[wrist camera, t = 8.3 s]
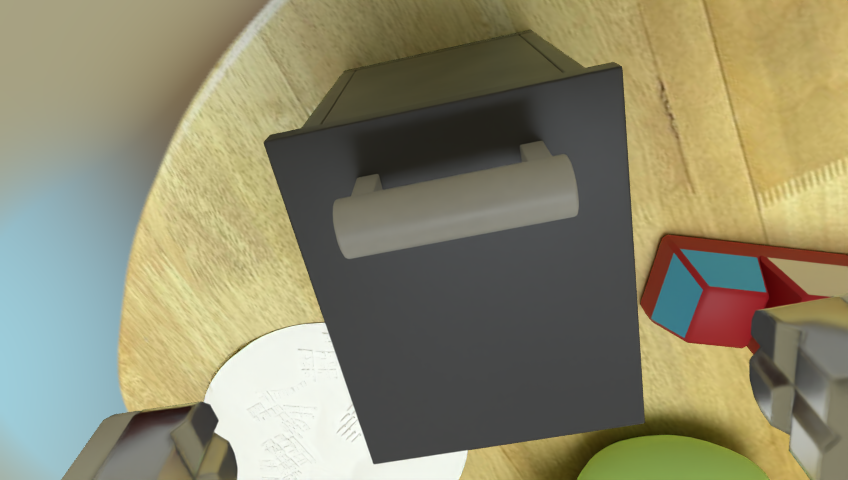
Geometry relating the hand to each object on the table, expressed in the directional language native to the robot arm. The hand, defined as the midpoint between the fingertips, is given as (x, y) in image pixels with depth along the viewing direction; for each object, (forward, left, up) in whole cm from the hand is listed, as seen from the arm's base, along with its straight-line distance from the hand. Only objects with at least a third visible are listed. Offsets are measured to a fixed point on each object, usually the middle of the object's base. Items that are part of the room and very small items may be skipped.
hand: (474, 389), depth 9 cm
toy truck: (+18, +18, -27) cm, 37 cm away
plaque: (+25, -13, -27) cm, 38 cm away
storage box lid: (+5, 0, -11) cm, 12 cm away
